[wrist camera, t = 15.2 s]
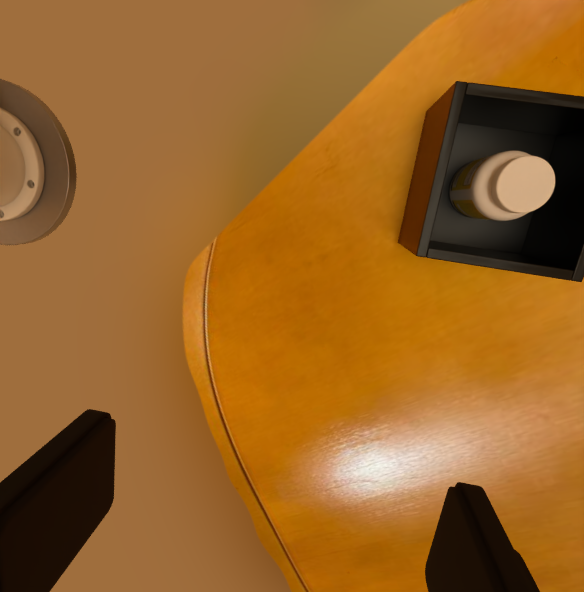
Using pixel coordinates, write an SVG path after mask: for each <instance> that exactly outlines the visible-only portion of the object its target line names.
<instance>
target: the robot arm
mask: <svg viewBox="0 0 584 592" xmlns="http://www.w3.org/2000/svg"><path fill="white" fill-rule="evenodd" d="M43 184H44V163H43V157H42V154H41V151H40V148H39V146H38V144H37V142H36V140H35V138H34V136H33V135H32V133H31V132H30V131H29V129H28V128H27V126H26V125H25V124H24V123H23V122H22V121H20V120H19V119H18V118H17V117H16V116H14V115H13V114H11V113H10V112H8V111H6V110H4V109H2V108H0V221H7V220H13V219H16V218H20V217H21V216H23V215H25V214H26V213H28V212H29V211H30V210H31V209H32V208H33V207H34V206H35V204H36V203H37V201H38V200H39V197H40V195H41V192H42V190H43ZM115 429H116V423H115V420H114V419H111V416H110V414H109V413H106V412H102V411H96V410H91V409H89V410H87V411H85V412H84V413H82V414H81V415H80V416H79V417H78V418H77V419H75V420H74V421H73V422H72V423H71V424H69V425H68V426H67V427H66V428H65V429H64V430H62V431H61V432H60V433H59V434H58V435H56V436H55V437H54V438H53V439H52V440H50V441H49V442H48V443H47V444H46V445H44V446H43V447H42V448H41V449H40V450H38V451H37V452H36V453H35V454H34V455H33V456H31V457H30V458H29V459H28V460H27V461H25V462H24V463H23V464H22V465H21V466H19V467H18V468H17V469H16V470H15V471H13V472H12V473H11V474H10V475H9V476H8V477H6V478H5V479H4V480H3V481H2V482H1V483H0V592H50V590H51V589H52V588H53V586H54V585H55V584H56V582H57V581H58V579H59V578H60V577H61V575H62V574H63V573H64V571H65V570H66V569H67V567H68V566H69V564H70V563H71V562H72V560H73V559H74V558H75V556H76V555H77V553H78V552H79V551H80V549H81V548H82V547H83V545H84V544H85V543H86V541H87V540H88V538H89V537H90V536H91V534H92V533H93V532H94V530H95V529H96V528H97V526H98V525H99V524H100V522H101V521H102V519H103V518H104V517H105V515H106V514H107V513H108V511H109V509H110V507H111V505H112V503H113V499H114V469H115V468H114V467H115ZM425 576H426V583H427V587H428V591H429V592H540V591H539V589H538V587H537V585H536V583H535V581H534V579H533V577H532V575H531V574H530V572H529V570H528V568H527V566H526V564H525V562H524V560H523V558H522V557H521V555H520V554H519V553H518V552H517V551H516V550H514V549H513V547H512V545H511V543H510V541H509V539H508V537H507V535H506V533H505V531H504V529H503V527H502V525H501V523H500V521H499V519H498V517H497V515H496V513H495V511H494V509H493V507H492V505H491V503H490V501H489V499H488V497H487V495H486V493H485V491H484V490H483V488H482V487H480V486H476V485H471V484H466V483H461V482H458V483H457V484H456V486H455V487H449V489H448V491H447V495H446V498H445V502H444V505H443V508H442V512H441V515H440V519H439V522H438V525H437V529H436V532H435V535H434V539H433V542H432V546H431V549H430V552H429V556H428V559H427V562H426V568H425Z"/></svg>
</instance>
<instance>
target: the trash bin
mask: <svg viewBox="0 0 584 592" xmlns="http://www.w3.org/2000/svg"><path fill="white" fill-rule="evenodd" d="M505 151H521V152H525V153H528V154H530V155H531V156H537V157H540V158H542V159H544V160H545V161H547V162H548V163H549V164H550V165H551V167H552V169H553V171H554V174H555V187H554V190H553V193H552V195H551V197H550V198H549V199H548V201H547V202H546V203H545V204H544V205H542V206H541V207H540V208H538V209H536V210H534V211H531V212H528V213H527V214H526V215H524V216H522V217H519V218H517V219H513V220H508V221H497V220H488V219H477V218H470V217H467V216H464V215H462V214H461V213H459V212H458V211H457V210H456V209H455V208H454V206H453V205H452V202H451V200H450V193H449V191H450V185H451V182H452V179H453V177H454V176H455V174H456V173H457V172H458V171H459V170H460V169H461V168H462V167H463V166H465V165H466V164H468V163H470V162H472V161H475V160H478V159H481V158H485V157H488V156H491V155H494V154H497V153H501V152H505ZM398 243H399V244H401V245H402V246H404V247H405V248H406V249H408V250H409V251H411V252H412V253H413V254H415V255H416V256H420V257H427V258H432V259H438V260H445V261H451V262H457V263H464V264H470V265H476V266H482V267H489V268H495V269H501V270H508V271H514V272H520V273H526V274H533V275H539V276H545V277H552V278H558V279H564V280H571V281H577V282H582V280H583V277H584V97H582V96H574V95H566V94H558V93H550V92H542V91H533V90H525V89H517V88H509V87H501V86H493V85H485V84H477V83H467V82H460V81H456V82H455V83H454V84H453V85H452V86H451V87H450V88H449V89H448V90H447V91H446V92H445V93H444V94H443V95H442V96H441V97H440V98H439V99H438V100H437V101H436V102H435V103H434V104H433V105H432V106H431V107H430V108H429V109H428V110H427V111H426V115H425V119H424V124H423V129H422V133H421V138H420V143H419V147H418V152H417V156H416V161H415V166H414V170H413V175H412V180H411V184H410V189H409V193H408V198H407V203H406V207H405V212H404V217H403V221H402V226H401V230H400V235H399V240H398Z"/></svg>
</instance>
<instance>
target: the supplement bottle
mask: <svg viewBox="0 0 584 592" xmlns="http://www.w3.org/2000/svg"><path fill="white" fill-rule="evenodd" d="M554 187H555V174H554V171H553V169H552V167H551V165H550V164H549V163H548V162H547V161H545V160H544V159H542V158H540V157H537V156H531V155H530V154H528V153H525V152H521V151H505V152H501V153H497V154H494V155H491V156H488V157H485V158H481V159H478V160H475V161H472V162H470V163H468V164H466V165H465V166H463V167H462V168H461V169H460V170H459V171H458V172H457V173H456V174H455V176H454V177H453V179H452V182H451V185H450V191H449V193H450V200H451V202H452V205H453V206H454V208H455V209H456V210H457V211H458V212H459V213H461V214H462V215H464V216H467V217H470V218H477V219H488V220H497V221H508V220H513V219H517V218H519V217H522V216H524V215H526V214H527V213H528V212H531V211H534V210H536V209H538V208H540V207H541V206H542V205H544V204H545V203H546V202H547V201H548V199H549V198H550V197H551V195H552V193H553V190H554Z"/></svg>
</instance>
